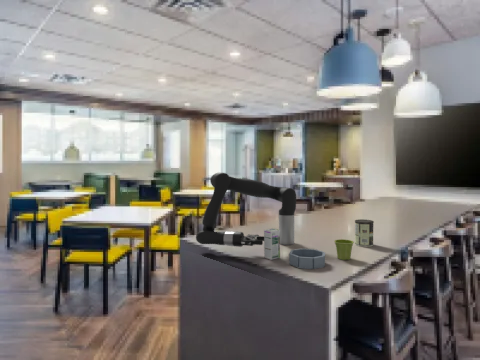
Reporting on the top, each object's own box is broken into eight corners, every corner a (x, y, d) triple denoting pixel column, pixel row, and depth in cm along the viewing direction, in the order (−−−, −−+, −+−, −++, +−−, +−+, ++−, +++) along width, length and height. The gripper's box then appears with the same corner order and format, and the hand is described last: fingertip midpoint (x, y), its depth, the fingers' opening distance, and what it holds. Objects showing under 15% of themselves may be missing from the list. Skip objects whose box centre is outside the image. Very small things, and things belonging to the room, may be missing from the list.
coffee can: (367, 242, 202) (367, 219, 201) (376, 246, 191) (377, 222, 191) (351, 243, 200) (351, 219, 199) (360, 247, 190) (360, 222, 189)
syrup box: (271, 260, 166) (271, 231, 165) (263, 257, 171) (263, 229, 170) (280, 258, 169) (280, 229, 168) (272, 255, 174) (272, 227, 173)
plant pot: (331, 259, 167) (331, 242, 166) (337, 254, 175) (337, 238, 174) (350, 262, 162) (350, 244, 161) (355, 257, 169) (356, 240, 169)
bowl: (292, 257, 170) (292, 247, 170) (325, 259, 166) (325, 249, 166) (287, 267, 155) (287, 256, 154) (324, 270, 150) (324, 259, 150)
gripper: (229, 234, 168) (261, 236, 164) (237, 229, 182) (267, 230, 177) (229, 249, 168) (261, 251, 164) (237, 242, 182) (267, 244, 178)
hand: (264, 240), depth 171 cm, fingers open, 8 cm apart
